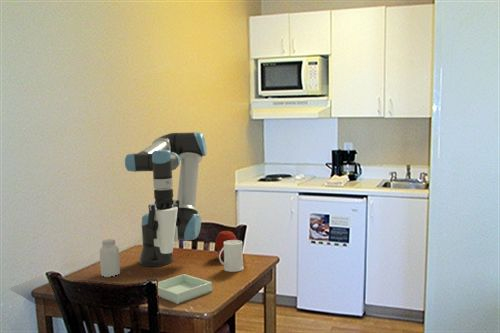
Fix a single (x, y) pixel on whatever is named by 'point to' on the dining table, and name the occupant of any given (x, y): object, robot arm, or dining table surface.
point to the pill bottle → (109, 258)
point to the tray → (183, 288)
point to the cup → (166, 228)
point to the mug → (232, 256)
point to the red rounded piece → (223, 240)
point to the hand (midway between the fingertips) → (166, 243)
